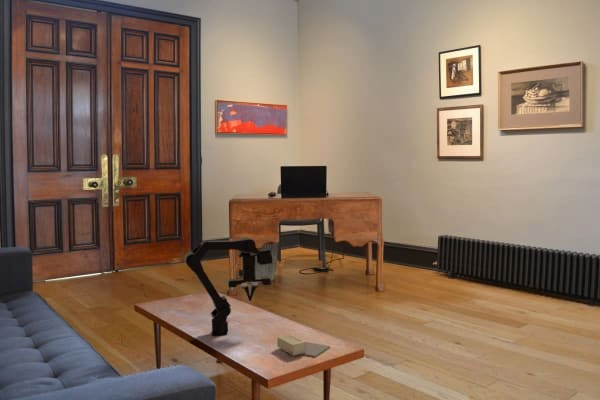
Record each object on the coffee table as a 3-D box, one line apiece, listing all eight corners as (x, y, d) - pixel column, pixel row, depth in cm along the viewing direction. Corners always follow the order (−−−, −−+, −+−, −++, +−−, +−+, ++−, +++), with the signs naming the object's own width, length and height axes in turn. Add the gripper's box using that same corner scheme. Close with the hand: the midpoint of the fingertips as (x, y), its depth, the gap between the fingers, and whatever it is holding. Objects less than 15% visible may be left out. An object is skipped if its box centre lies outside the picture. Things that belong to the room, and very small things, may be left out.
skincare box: (277, 346, 219) (292, 356, 209) (276, 336, 219) (292, 345, 208) (291, 343, 222) (306, 352, 212) (290, 333, 222) (306, 341, 212)
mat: (284, 351, 216) (284, 350, 216) (300, 342, 226) (300, 340, 226) (315, 357, 208) (315, 355, 208) (330, 347, 219) (330, 346, 219)
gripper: (267, 261, 252) (268, 294, 253) (226, 264, 249) (228, 297, 250) (270, 266, 241) (271, 301, 242) (227, 268, 238) (229, 304, 239)
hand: (250, 300), depth 244 cm, fingers closed
